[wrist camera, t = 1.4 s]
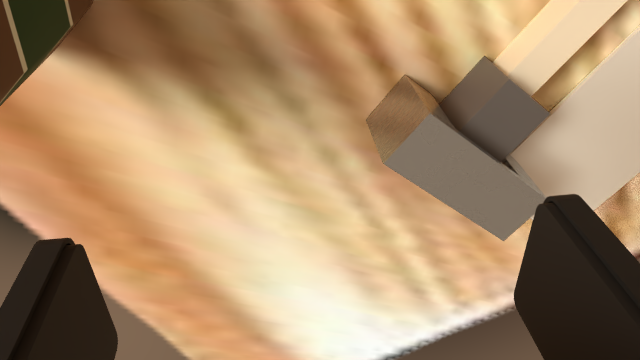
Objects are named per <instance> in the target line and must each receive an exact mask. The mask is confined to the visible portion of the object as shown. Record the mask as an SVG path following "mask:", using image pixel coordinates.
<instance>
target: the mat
mask: <svg viewBox="0 0 640 360" xmlns="http://www.w3.org/2000/svg"><path fill="white" fill-rule="evenodd" d="M549 113H550V115H549V116H548V117H547V118H546V119H545V120H544V121H543V122H542V123H541V124H540V125H539V126H538V127H537V128H536V129H535V130H534V131H532V132H531V133H530V134H529V135H528V136H527V137H526V138H525V139H524V140H523V141H522V142H521V143H520V144H519V145H518V146H517V147H516V148H515V149H514V150H513V151H512V152H511V153H510V155H511V156H512V157H513V158H514V159H515V160H516V161H517V162H518V163H519V165H520V166H521V167H522V168H523V169H524V171H525V172H526V173H527V174H528V175H529V177H530V178H531V179H532V180H533V182H534V183H535V184H536V185H537V186H538V188H539V189H540V190H541V191H542V192H543V194H544V195H545V196H546V197H549V196H556V195H567V194H577V195H579V196H580V197H581V198H582V199H583V200H584V201H585V202H586V203H587V204H588V205H589V207H590V208H591V209H592V210H593V211H594V210H595V209H596V208H598V207H599V206H600V205H601V204H602V203H604V202H605V201H606V200H607V199H608V198H610V197H611V196H612V195H613V194H614V193H616V192H617V191H618V190H619V189H620V188H622V187H623V186H624V185H625V184H626V183H628V182H629V181H630V180H631V179H632V178H634V177H635V176H636V175H637V174H638V173H640V25H639V26H638V27H637V28H636V29H635V30H634V31H633V32H632V33H631V34H630V35H629V36H628V37H627V38H626V39H625V40H623V41H622V42H621V43H620V44H619V45H618V46H617V47H616V48H615V49H614V50H613V51H612V52H611V53H610V54H609V55H608V56H607V57H606V58H605V59H604V60H603V61H602V62H601V63H600V64H599V65H598V66H597V67H596V68H595V69H593V70H592V71H591V72H590V73H589V74H588V75H587V76H586V77H585V78H584V79H583V80H582V81H581V82H580V83H579V84H578V85H577V86H576V87H575V88H574V89H573V90H572V91H571V92H570V93H569V94H568V95H567V96H566V97H564V98H563V99H562V100H561V101H560V102H559V103H558V104H557V105H556V106H555V107H554V108H553V109H552V110H551V111H550V112H549ZM534 215H535V214H534ZM534 215H533V216H532V217H530V219H532V220H533V219H534Z"/></svg>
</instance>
